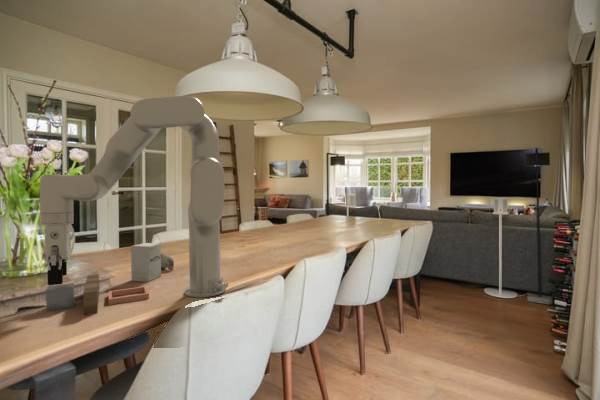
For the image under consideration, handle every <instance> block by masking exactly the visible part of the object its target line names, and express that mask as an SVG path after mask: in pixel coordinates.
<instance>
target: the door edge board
mask: <svg viewBox="0 0 600 400" xmlns="http://www.w3.org/2000/svg"><path fill="white" fill-rule="evenodd" d="M85 280H86V281H85V284H84V289H83V293H82V295H83V315H84V316H88V315H93V314H98V311H99V310H98V308H99V298H100V276H99V273H95V274H92V273H91V274H87V276H86V279H85Z"/></svg>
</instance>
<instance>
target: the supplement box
mask: <svg viewBox="0 0 600 400" xmlns="http://www.w3.org/2000/svg"><path fill="white" fill-rule="evenodd" d="M161 249H162V248H161V243H160V242H159V243H158V242H144V243H140V244H134V245H131V246H130V253H131V254H130V257H131V258H130V259H131V261H130V262H131V265H130V266H131V281H134V282H135V281H136V282H151V281H153V280H155V279H157V278H160V277H161V276H162V268H161V253H162V252H161Z"/></svg>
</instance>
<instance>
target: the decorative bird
mask: <svg viewBox="0 0 600 400" xmlns="http://www.w3.org/2000/svg"><path fill="white" fill-rule="evenodd" d="M174 265H175V262H174V259H173V257H172V256H170V255H168V254H165V253H164V252H161V269H163V270H164V269H166V268H167V269H168V270H169V271H170V272H172V271H173V270H174V267H175V266H174Z"/></svg>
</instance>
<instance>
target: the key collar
mask: <svg viewBox="0 0 600 400" xmlns="http://www.w3.org/2000/svg"><path fill="white" fill-rule="evenodd" d="M136 293H137V294H136ZM115 296H116V297H115ZM118 296H119V297H118ZM146 299H147V300H148V299H150V292H149V289H148V287H147V285H145V286H137V287H130V288H122V289H114V290H109V291H108V305H115V304H120V303H121V304H123V303H128V302H133V301H135V302H136V301H139V300H140V301H141V300H146Z"/></svg>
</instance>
